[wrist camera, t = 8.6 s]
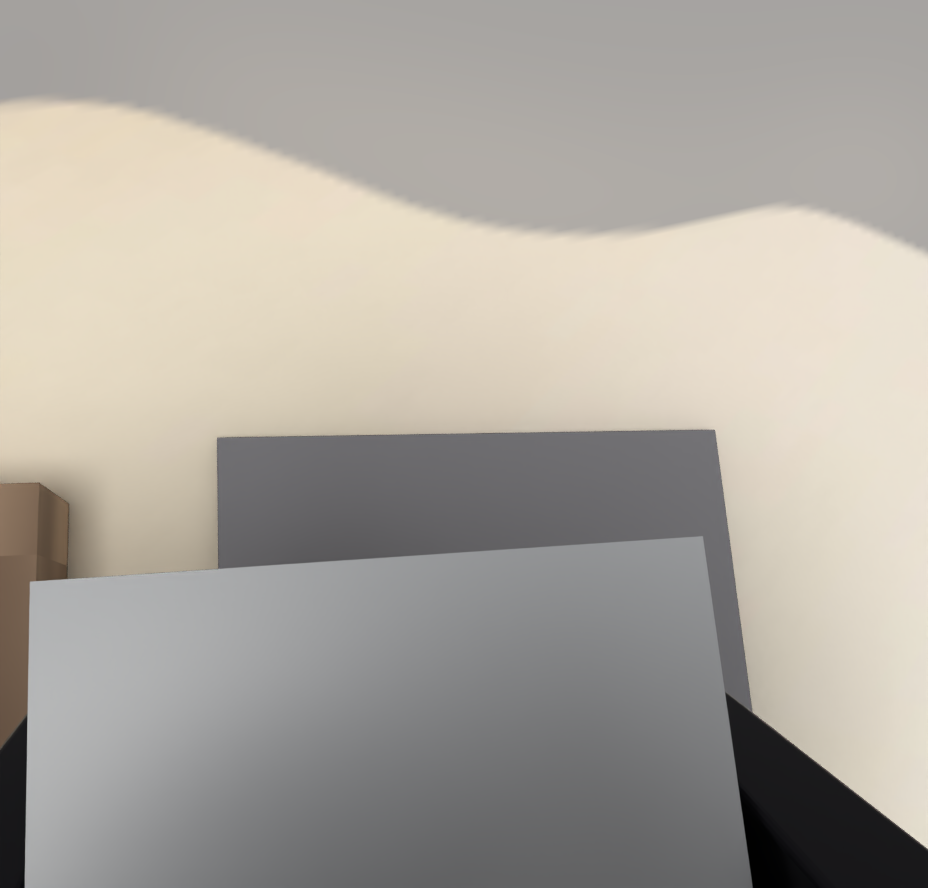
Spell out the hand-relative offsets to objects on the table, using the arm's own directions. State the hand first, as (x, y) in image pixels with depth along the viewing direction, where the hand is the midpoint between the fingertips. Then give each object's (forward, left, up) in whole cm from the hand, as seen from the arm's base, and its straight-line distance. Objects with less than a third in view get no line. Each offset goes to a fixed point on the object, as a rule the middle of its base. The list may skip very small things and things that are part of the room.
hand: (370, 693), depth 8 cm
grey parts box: (0, +1, -7) cm, 7 cm away
